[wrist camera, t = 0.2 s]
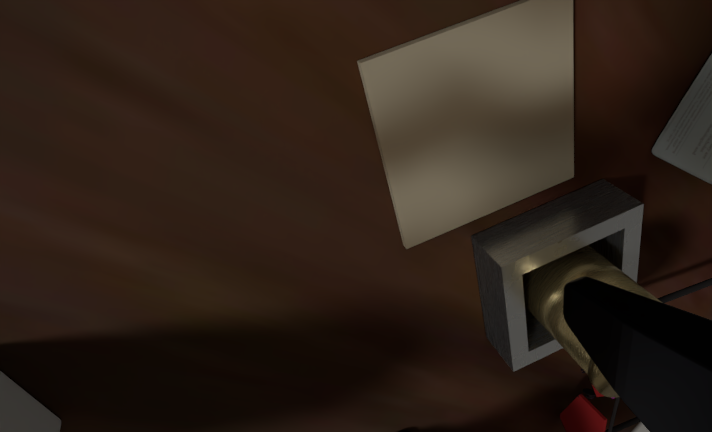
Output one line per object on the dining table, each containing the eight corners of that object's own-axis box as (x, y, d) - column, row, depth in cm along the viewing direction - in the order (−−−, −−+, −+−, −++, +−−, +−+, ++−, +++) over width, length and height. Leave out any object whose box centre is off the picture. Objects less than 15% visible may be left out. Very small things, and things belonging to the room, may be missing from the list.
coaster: (569, 173, 28) (573, 177, 28) (403, 244, 27) (406, 248, 27) (567, -17, 23) (573, -16, 22) (356, 60, 21) (360, 63, 21)
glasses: (563, 297, 34) (618, 350, 30) (758, 227, 38) (831, 267, 34) (546, 426, 42) (588, 482, 38) (709, 358, 46) (764, 403, 41)
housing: (599, 284, 34) (633, 313, 32) (486, 337, 33) (513, 371, 31) (602, 178, 30) (643, 203, 27) (471, 235, 28) (501, 267, 26)
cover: (579, 276, 33) (684, 367, 27) (505, 311, 33) (593, 413, 26) (579, 209, 30) (697, 294, 24) (497, 245, 29) (596, 342, 23)
